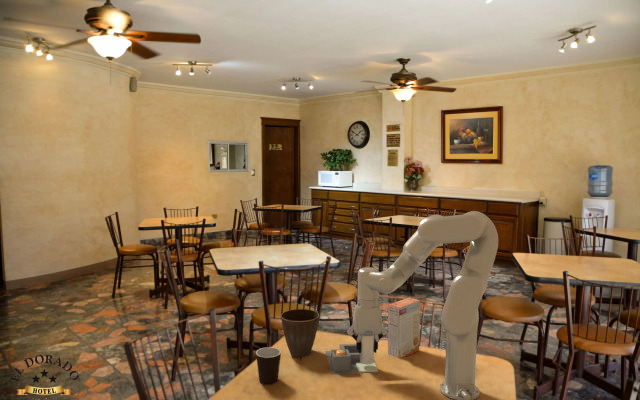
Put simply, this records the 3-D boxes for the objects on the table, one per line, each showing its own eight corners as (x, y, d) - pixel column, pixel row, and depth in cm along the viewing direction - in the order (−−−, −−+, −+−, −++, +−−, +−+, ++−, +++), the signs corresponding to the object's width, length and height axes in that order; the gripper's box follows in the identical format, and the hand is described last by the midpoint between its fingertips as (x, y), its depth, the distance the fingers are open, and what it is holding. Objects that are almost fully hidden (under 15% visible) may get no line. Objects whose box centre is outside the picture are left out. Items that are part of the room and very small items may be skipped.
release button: (346, 364, 167) (346, 353, 167) (336, 364, 167) (336, 354, 166) (344, 360, 171) (344, 349, 170) (335, 360, 170) (335, 349, 170)
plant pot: (291, 365, 172) (291, 323, 171) (274, 351, 185) (274, 312, 184) (325, 357, 180) (326, 317, 178) (307, 344, 193) (307, 306, 191)
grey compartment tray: (378, 375, 165) (379, 357, 165) (331, 376, 163) (331, 359, 163) (367, 352, 185) (367, 336, 184) (325, 353, 183) (325, 337, 183)
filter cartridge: (375, 364, 166) (376, 331, 165) (361, 364, 166) (361, 332, 165) (372, 358, 171) (372, 326, 170) (358, 358, 171) (358, 326, 170)
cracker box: (407, 346, 191) (408, 296, 190) (419, 350, 187) (421, 299, 185) (386, 356, 182) (387, 303, 180) (399, 360, 177) (400, 307, 176)
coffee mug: (274, 388, 155) (274, 359, 154) (251, 383, 158) (251, 355, 157) (288, 373, 166) (288, 346, 165) (266, 369, 169) (266, 342, 168)
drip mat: (378, 371, 166) (378, 370, 165) (359, 372, 165) (359, 371, 165) (374, 363, 172) (374, 362, 172) (355, 364, 172) (355, 362, 172)
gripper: (388, 298, 171) (387, 346, 173) (342, 299, 170) (342, 348, 171) (393, 305, 164) (392, 355, 165) (346, 306, 162) (345, 356, 164)
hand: (366, 351), depth 168 cm, fingers closed on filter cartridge, 5 cm apart
